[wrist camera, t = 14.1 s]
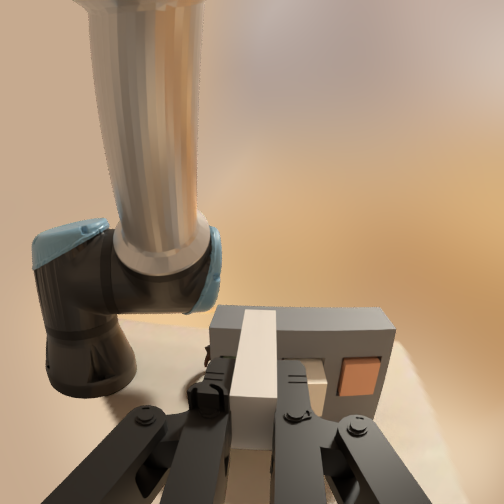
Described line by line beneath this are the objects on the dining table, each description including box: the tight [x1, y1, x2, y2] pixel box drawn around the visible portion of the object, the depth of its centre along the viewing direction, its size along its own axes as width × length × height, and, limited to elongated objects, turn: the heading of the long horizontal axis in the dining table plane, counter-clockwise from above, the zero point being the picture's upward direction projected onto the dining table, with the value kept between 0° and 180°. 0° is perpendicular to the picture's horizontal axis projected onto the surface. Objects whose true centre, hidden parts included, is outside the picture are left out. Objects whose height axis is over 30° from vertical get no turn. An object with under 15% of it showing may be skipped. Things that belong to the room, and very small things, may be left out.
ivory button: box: [284, 358, 327, 416], centre depth 32 cm, size 4×5×4 cm
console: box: [209, 305, 396, 423], centre depth 36 cm, size 20×6×14 cm, turn 87°
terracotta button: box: [337, 356, 381, 396], centre depth 35 cm, size 4×5×4 cm
